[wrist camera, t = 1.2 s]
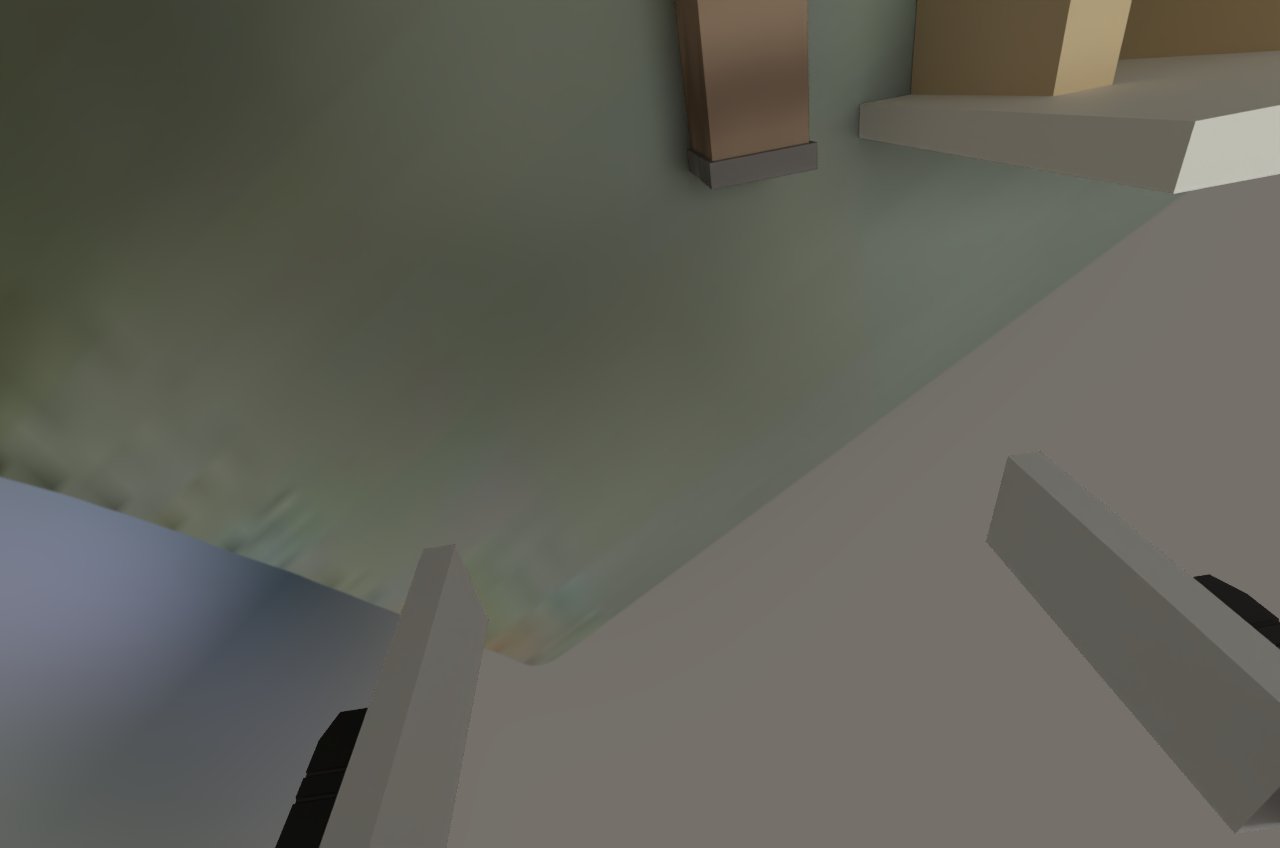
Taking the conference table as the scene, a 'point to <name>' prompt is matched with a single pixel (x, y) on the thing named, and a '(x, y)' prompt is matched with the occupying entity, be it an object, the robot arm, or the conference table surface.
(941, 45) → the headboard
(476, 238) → the conference table surface
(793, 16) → the rail
